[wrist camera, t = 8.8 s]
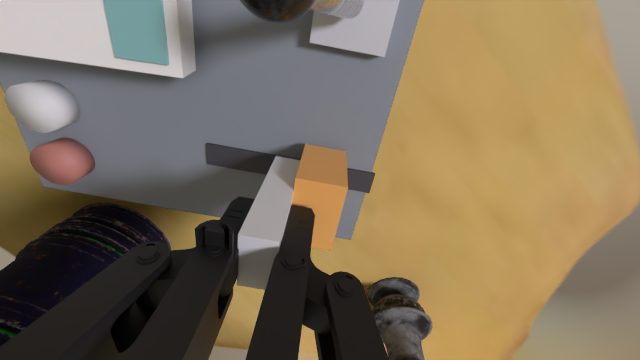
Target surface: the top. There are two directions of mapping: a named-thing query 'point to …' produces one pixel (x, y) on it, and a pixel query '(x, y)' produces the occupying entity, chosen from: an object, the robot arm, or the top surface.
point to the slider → (322, 190)
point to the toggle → (301, 9)
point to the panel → (218, 108)
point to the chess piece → (399, 318)
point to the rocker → (103, 33)
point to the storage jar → (67, 261)
